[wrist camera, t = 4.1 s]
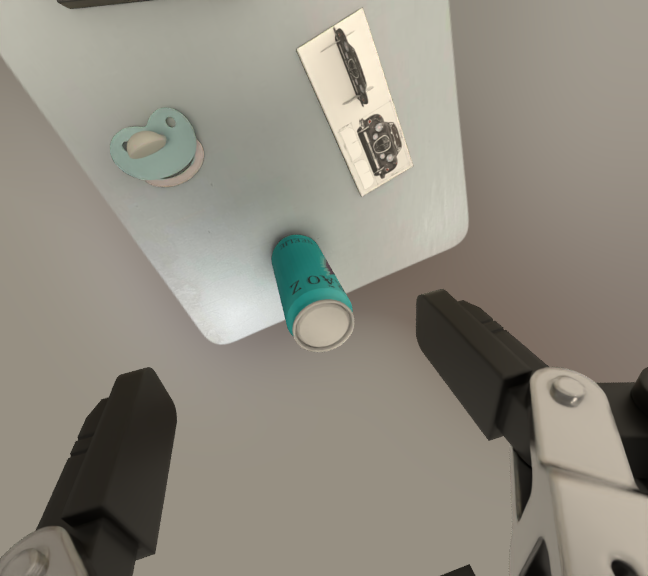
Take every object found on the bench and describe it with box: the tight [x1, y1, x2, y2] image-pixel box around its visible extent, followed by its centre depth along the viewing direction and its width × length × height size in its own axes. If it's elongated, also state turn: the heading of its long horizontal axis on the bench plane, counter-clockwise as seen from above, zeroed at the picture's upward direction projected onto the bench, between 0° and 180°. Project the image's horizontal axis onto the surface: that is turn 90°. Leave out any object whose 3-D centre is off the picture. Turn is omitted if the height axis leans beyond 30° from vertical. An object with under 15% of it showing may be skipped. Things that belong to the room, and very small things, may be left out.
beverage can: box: [272, 235, 354, 352], centre depth 32 cm, size 6×6×15 cm
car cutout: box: [296, 8, 413, 196], centre depth 31 cm, size 15×7×4 cm, turn 27°
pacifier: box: [110, 108, 204, 187], centre depth 28 cm, size 7×6×6 cm
